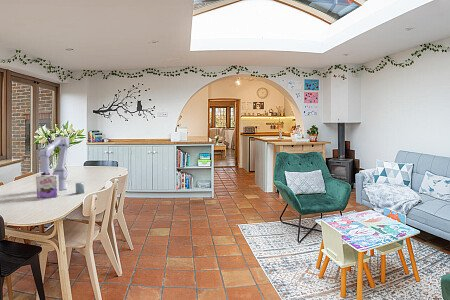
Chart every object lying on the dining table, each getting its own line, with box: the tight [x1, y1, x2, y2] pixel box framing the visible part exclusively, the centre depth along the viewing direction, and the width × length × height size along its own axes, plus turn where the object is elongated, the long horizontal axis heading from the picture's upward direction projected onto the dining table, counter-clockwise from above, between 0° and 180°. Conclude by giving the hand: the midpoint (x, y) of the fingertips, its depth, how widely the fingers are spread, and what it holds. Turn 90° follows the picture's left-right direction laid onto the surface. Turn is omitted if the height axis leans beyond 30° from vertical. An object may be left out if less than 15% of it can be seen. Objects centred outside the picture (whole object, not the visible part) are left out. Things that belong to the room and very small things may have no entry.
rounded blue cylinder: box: [75, 182, 85, 195], centre depth 245 cm, size 6×6×8 cm
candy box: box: [35, 174, 60, 199], centre depth 232 cm, size 14×6×16 cm, turn 101°
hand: (45, 182), depth 238 cm, fingers closed
